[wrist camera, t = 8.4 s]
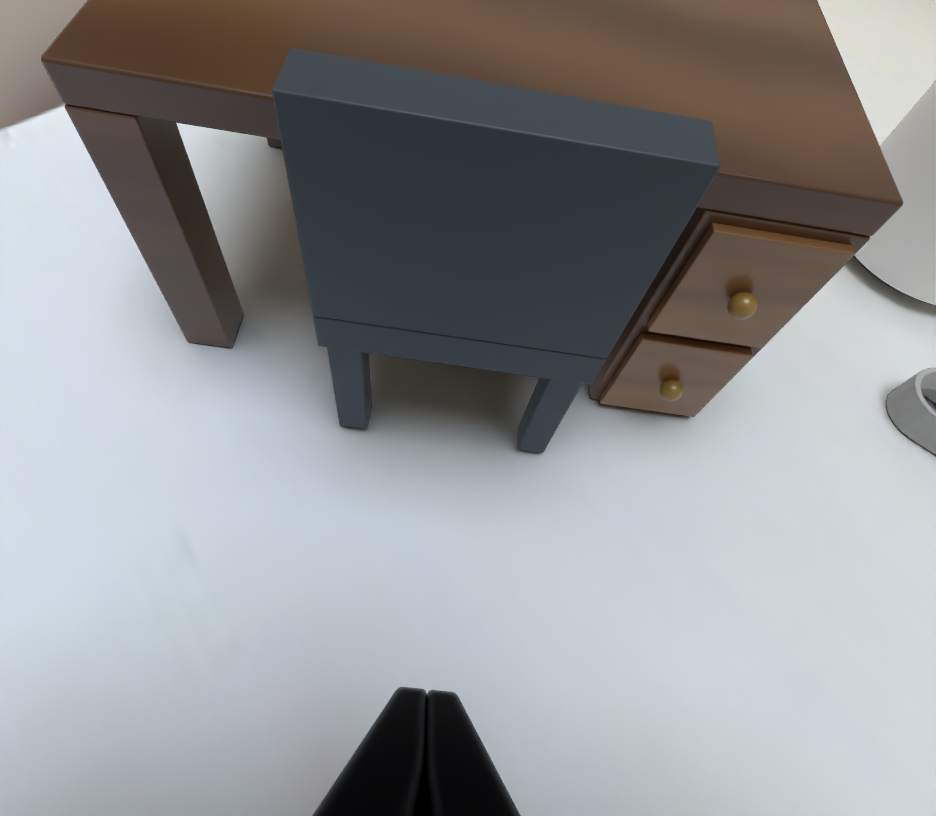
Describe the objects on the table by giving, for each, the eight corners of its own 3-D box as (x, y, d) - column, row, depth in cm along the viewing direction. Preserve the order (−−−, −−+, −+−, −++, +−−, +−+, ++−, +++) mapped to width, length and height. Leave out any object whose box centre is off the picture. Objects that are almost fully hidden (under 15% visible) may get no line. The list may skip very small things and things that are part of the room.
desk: (700, 437, 20) (920, 235, 12) (177, 365, 19) (13, 85, 11) (668, 189, 26) (795, -54, 18) (277, 124, 25) (223, -167, 17)
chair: (548, 458, 19) (722, 166, 9) (333, 429, 18) (270, 89, 8) (551, 295, 22) (679, -44, 12) (371, 267, 22) (356, -106, 12)
